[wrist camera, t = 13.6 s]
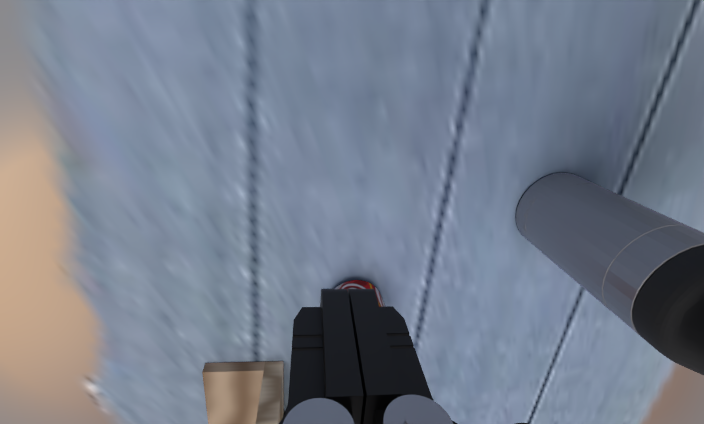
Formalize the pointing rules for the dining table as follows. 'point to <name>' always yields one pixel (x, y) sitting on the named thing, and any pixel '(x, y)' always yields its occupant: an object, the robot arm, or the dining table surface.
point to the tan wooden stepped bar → (244, 392)
